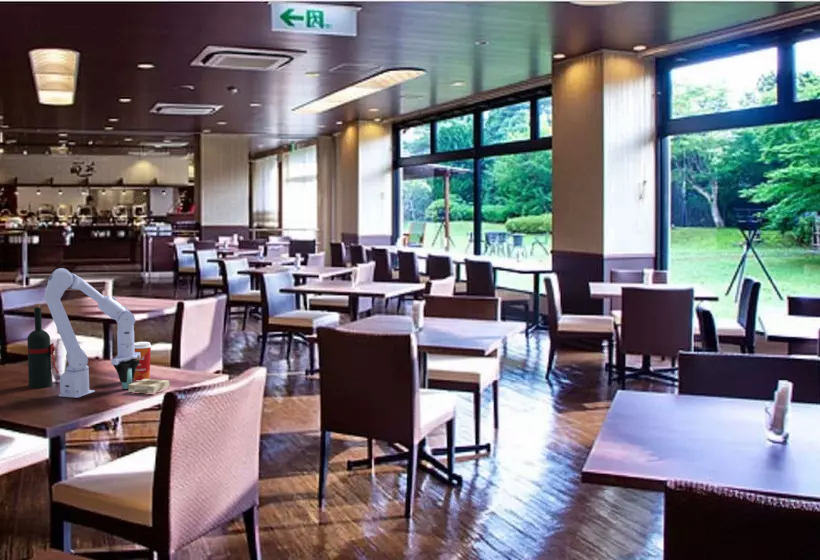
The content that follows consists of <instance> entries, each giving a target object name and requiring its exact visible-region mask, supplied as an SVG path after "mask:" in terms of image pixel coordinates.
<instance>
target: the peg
mask: <svg viewBox="0 0 820 560" xmlns="http://www.w3.org/2000/svg"><path fill="white" fill-rule="evenodd" d="M132 383H133V380H132V368H128V373H127V382H126V383H123V382H121V389H123V390H129V388H128V385H129V384H132Z"/></svg>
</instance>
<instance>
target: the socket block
mask: <svg viewBox="0 0 820 560" xmlns="http://www.w3.org/2000/svg"><path fill="white" fill-rule="evenodd" d="M167 387H171V386H170V380H168V379H154V378H153V379H152V378H149V379H143V380H140V381H134V382H132V384H129V385H128V388H129V389H128V393H129V392H139V393H155V392H158V391H160V390H162V389H164V388H167Z"/></svg>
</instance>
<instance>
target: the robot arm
mask: <svg viewBox="0 0 820 560" xmlns="http://www.w3.org/2000/svg"><path fill="white" fill-rule="evenodd" d="M69 288H70V289H72V290H80V292H82V293H84V294H85V295H86V296H88V297H89V298H90V299H92V300H93V301H95V303H96V302H97V307H98V309H99V310H100V311H101V312H103V313H104V314H105V315H107V316H108V317H109V318H110V319H112V320H115V322H116V323H117V332H116V333H117V335H116V336H117V337H116V341H117V343H116V344H117V346H116V347H117V355H116V356H115V357H114V358H111V360H110V361H111V362H110V363H111V364H110V365H111V366H113V367H114V369H115V371H116V372H117V375H118V378H119V382H120V383H122V382H123V383H126V382H127V373H128V368H132V381H134V374H135V371H136V368H137V365H138V364H139V360H136V358H141V353H140V352H135V347H134V343H135V330H134V328H135V325H134V324H135V323H136V318H135V315H134V314H133V313H132V312H131V311H130V310H129V309H128V306H125V305H124V306H123V305H122V304H121V303H120V302H118V301H117V298H116V297H115V296H111V295H103V294H102V293H100V291H98V290H97V289H95V288H94V287H93V286H92V285H91V284H90V283H88V282H87V281H86V280H85V279H83V278H82V277H80V276H78V275H77V274H75V273H72V272H70V271H69V270H68V269H67V268H64V267H62V268H61V267H60V268H56V269H55V270H54V271H52V272H51V275H50V276H49V277H48V281H47V285H46V289H45V293H44V300H45V302H46V303H45V304H46V305H47V307H48V310H49V312H50V315H51V317H52V319H53V322H54V325H55V327H56V328H57V332H58V334H59V336H60V339H61V341H62V344H63V346H64V348H65V351H66V358H65V359H66V361H67V363H68V365H67V366H66V367H65V372H63V373H62V374H61V375H60V377H59V387H60V388H59V390H60V391H59V394H58V395H57V396H58V397H65V398H75V399H76V398H81V397H83V396H86V395H87V396H88V395H89V394H92V393H95V392H96V390H94V389H90V374H89V372H90V370H89V368H90V367H89V365H88V364H89V363H88V362H89V358H88V355H87V354H86V352H85V351H84V349H83V348H81V345H80V344H79V341H78V339H77V336H76V334H75V332H74V330H73V329H74V328H73V327H72V325H71V321H70V320H69V316H68V315H67V312H66V310H65V307H64V305H63V302H62V300H61V298H62V297H63V296H64V293H65V291H67V289H69Z"/></svg>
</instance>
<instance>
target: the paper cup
mask: <svg viewBox="0 0 820 560" xmlns="http://www.w3.org/2000/svg"><path fill="white" fill-rule="evenodd" d="M134 347H135V352H140V353H141V358H136V360H139V364H138V365H137V368H136V371H135V374H134V379H133V381H134V380H143V379H151V378H150V377H151V373H150V372H151V350H152V349H151V348H152V345H151V342H149V341H136V342H135V341H134Z"/></svg>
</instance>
